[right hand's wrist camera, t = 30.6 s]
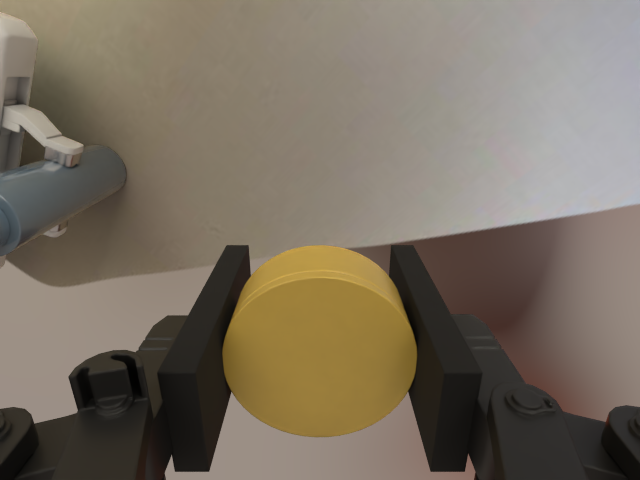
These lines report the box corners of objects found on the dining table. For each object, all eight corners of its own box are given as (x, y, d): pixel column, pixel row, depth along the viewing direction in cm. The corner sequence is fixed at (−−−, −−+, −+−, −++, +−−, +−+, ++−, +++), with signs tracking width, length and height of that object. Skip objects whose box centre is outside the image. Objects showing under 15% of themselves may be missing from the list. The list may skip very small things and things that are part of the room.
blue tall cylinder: (135, 186, 37) (15, 259, 22) (90, 200, 37) (-56, 279, 23) (112, 138, 35) (-34, 182, 21) (65, 152, 36) (-109, 206, 21)
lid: (233, 240, 11) (216, 272, 9) (413, 247, 11) (431, 281, 10) (238, 384, 13) (225, 434, 11) (393, 389, 13) (404, 441, 11)
